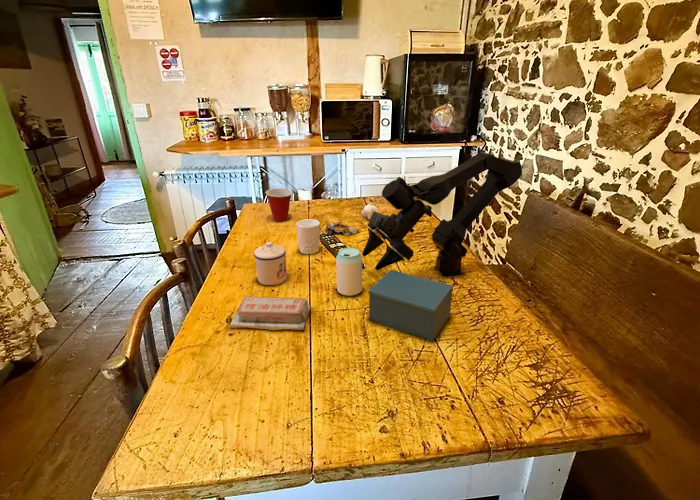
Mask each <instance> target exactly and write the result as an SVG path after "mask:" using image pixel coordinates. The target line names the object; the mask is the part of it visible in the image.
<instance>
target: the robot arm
mask: <svg viewBox="0 0 700 500" xmlns="http://www.w3.org/2000/svg"><path fill="white" fill-rule="evenodd" d="M483 172H486V177H485V181H484V182H483V184H481V186H480V187H479V188H478V189H477V190H476V191H475V192H474V193H473V195H472V196H471V197H470V198H469V199H468V201H467V202H466V203H465V204H464V205H463V206H462V207H461V209H460V210H459V211H458V212H457V213H456V214H455V216H454V217H452V218H451V219H450V220H449V219H448V220H446V219H441V221H440V222H439V223H438V225H437V226H436V227H434V228H433V230H434V231H433V232H432V234H431V237H432V238H431V241H432V243H433V244H434V245H435V249H437V250H438V254H437V256H436V258H435V259H436V260H435V265H434V269H436V270H437V271H438V273H439V274H440V275H441V276H442V277H450V276H458V275H463V273H464V272H463V270H461V267H462V261H463V260H462V259H463V258H465V257H466V256H467V253H468V251H469V250H468V249H467V248H466V247H465V246H464V245H463V242H464V241H465V238H466V234H467V231H468V229H469V228H470V226H471V225H472V224H473V223H474V222H475V220H476V219H477V218H478V217H479V216H480V214H481V213H482V212H483V211H484V210H485V209H486V208H487V206H488V205H489V204H490V203H491V202H492V201H493V199H495V197H496V196H497V195H498V194H499V193H500V192H501V191H503V190H506V189H508V188H510V187H512V186H513V185H514V184H515V183H516V182H518V180H520V178H521V177H522V175H523V165H522V164H521V162H518V161H515V160H513V159H509V158H505V157H497V156H496V155H494V154H492V153H488V152H484V151H482V152H479V153H477V154H476V156H474V157H472V158H470V159H468V160H466V161H465V162H462V163H461V164H459V165H458V166H455V167H454V168H452V169H450V170H449V171H447V172H445V173H442V174H438V175H431V176H429V177H425V178H423V179H421V180H420V181H419V182H417V183H414V184H411V185H409V184H408V183H407V181H406V180H405V179H404V178H402V177H401V176H398V177H397V178H396V179H393V180H392V181H390V182H389V183H387V184H385V185H384V187H383V188H382V191H381V196H382V197H383V199H385V200H386V201H387V202H388V204H390V205H391V206H392V207H393V208H395V210H398V212H397V213H395V212H394V213H392V214H390V215H388V214H383V213H380V212H378V213H377V212H374V211H373V213H372V216H371V218H370V219H369V221H368V223H367V226H368V227H367V231H368V238H367V240H366V244H365V246H364V248H363V250H362V253H361V256H362V257H366V256H369V254H371V253H372V252H374V251H375V250H376V249H378V248H379V247H380V246H382V245H383V244H384V243H385V240H386V241H388V243H389V244H386V247H385V248H386V249H385V253H383V255H382V257H381V258H380V259H379V261H378V262H377V263H376V265H375V266H374V269H375V270H376V271H380V270H382V269H384V268H386V267H389V266H391V265H394V264H397V263H400V262H402V261H403V262H405V261H406V260H407V261H410V260H411V259H412V258H413V257H414V249H412V248H411V247H410V246H409V245H408V244H406V243H405V241H404V239H405V237H406V236H407V235H408V234H409V233H411V234H413V233H414V232H415V229H413V228H414V227H415V226H416V225H417V223H418V222H419V221H420V220H421V219H422V218H423V217H424V216H427V217H429V218H432V217H433V212H432V209H433V208H432V206H431V205H433V206H435V205H438V204H440V203H442V202H443V201H444V200H445V199H446V198H448V197H449V195H450V193H451V192H452V191H453V190H454V189H455V188H457V187H459V186H461V185H462V184H464V183H466V182H468V181H470V180H471V179H473V178H474V177H477V176H478V175H480V174H483ZM415 198H416V199H415ZM424 202H426V203H428V204H425V203H424Z"/></svg>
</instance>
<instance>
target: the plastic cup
mask: <svg viewBox="0 0 700 500" xmlns="http://www.w3.org/2000/svg"><path fill="white" fill-rule="evenodd" d="M265 195H266V197H267V201H268V203H269V207H270V211H271V214H272V218H273V220H274V221H275V222H286V221H288V220H289V212H290V203H291V197H292V195H293V191H292V190H291V189H287V188H270V189H267V190H266V191H265Z"/></svg>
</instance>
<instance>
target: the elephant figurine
mask: <svg viewBox="0 0 700 500" xmlns="http://www.w3.org/2000/svg"><path fill="white" fill-rule="evenodd" d="M373 211H374V212H377V213H379V210H378V208H377V207H376V206H375V205H374V203H372V202H369V203H367V205H365V206H364V208H363V209H362V211H361V216H362V217H366V216H367V220H370V218H371V216H372V213H373Z"/></svg>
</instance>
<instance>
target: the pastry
mask: <svg viewBox="0 0 700 500" xmlns="http://www.w3.org/2000/svg"><path fill="white" fill-rule="evenodd" d="M325 230H327V232H324V235H327V236H331V235H333V231H334V232H335V233H343V235H345V236H348V235H353V234H356V233H357V232H358V229H356V228H354V227H352V226H349V225H346V224H343V220H340V221H336V222H333V221H332V222H331V223H330V224H329V223H328V224H327V225H325Z"/></svg>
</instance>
